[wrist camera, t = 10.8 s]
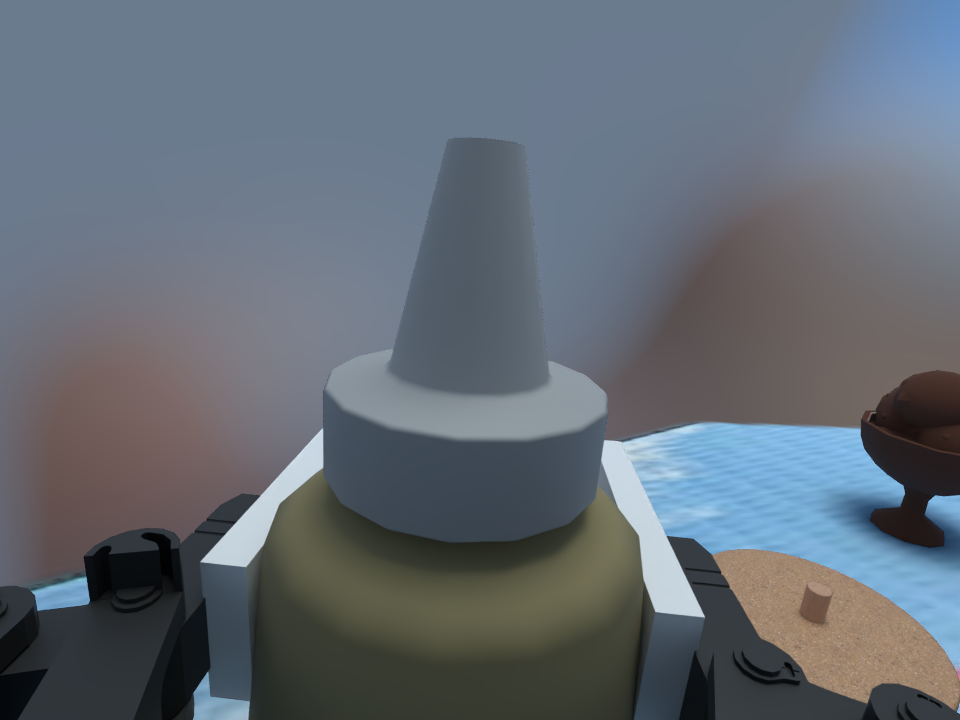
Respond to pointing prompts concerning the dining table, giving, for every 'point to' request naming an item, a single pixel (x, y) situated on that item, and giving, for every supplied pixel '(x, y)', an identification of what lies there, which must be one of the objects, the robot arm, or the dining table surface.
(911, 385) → the ice cream bowl
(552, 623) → the squeeze bottle
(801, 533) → the dining table surface
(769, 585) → the lidded jar
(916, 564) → the dining table surface
